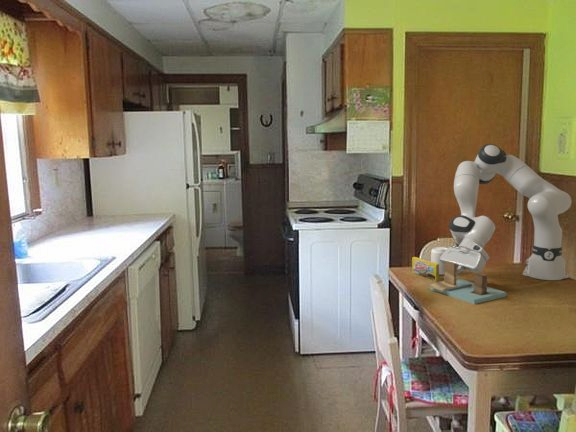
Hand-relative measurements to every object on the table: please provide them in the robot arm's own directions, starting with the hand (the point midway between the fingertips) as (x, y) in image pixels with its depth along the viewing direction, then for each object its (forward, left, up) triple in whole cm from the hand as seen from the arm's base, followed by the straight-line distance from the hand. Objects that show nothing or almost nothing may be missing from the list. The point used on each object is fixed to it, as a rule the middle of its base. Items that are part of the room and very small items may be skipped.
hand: (452, 275), depth 212 cm
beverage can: (-27, -6, -7) cm, 29 cm away
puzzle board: (+4, +6, -7) cm, 10 cm away
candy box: (-18, -12, -7) cm, 23 cm away
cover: (+4, -3, -4) cm, 7 cm away
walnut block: (+8, +11, -6) cm, 15 cm away
